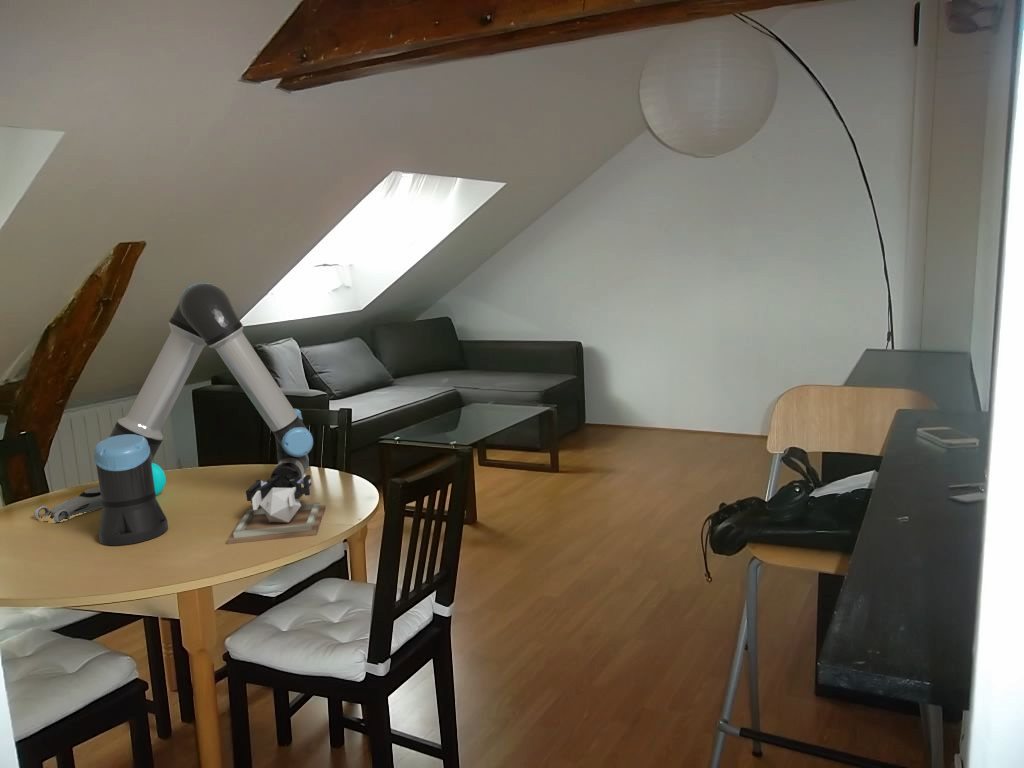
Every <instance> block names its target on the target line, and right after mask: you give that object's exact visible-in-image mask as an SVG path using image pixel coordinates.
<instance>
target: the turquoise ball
mask: <svg viewBox="0 0 1024 768" xmlns="http://www.w3.org/2000/svg"><path fill="white" fill-rule="evenodd" d="M152 473H153V480H154V487H155V494H156V496H158V495H159V494H161V492H162V491H163V490H164V489H165V487H166V484H167V477H166V473H165V471H164V470H163V468H162V467H161V466H160V465H158V464H156V463H155V462H152Z"/></svg>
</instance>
